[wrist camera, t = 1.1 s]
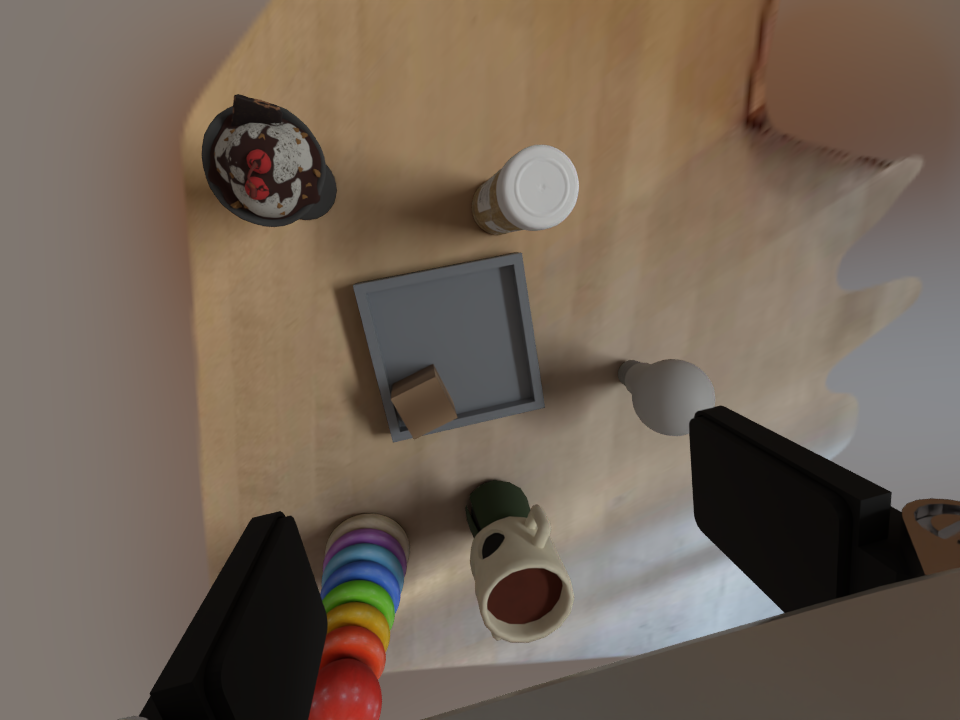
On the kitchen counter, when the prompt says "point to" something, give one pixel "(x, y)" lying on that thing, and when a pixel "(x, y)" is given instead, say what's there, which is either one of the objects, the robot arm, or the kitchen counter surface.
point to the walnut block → (423, 401)
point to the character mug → (516, 565)
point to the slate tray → (456, 337)
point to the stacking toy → (358, 615)
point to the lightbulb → (667, 393)
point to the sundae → (266, 164)
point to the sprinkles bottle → (527, 192)
